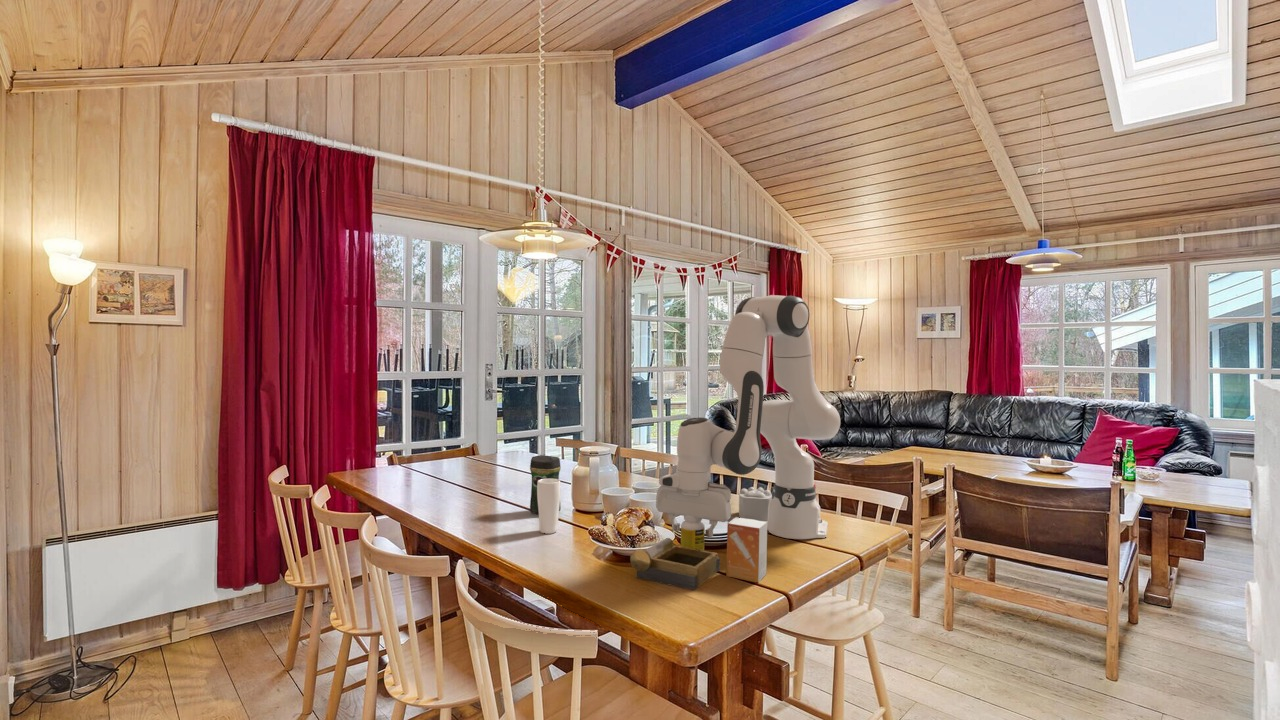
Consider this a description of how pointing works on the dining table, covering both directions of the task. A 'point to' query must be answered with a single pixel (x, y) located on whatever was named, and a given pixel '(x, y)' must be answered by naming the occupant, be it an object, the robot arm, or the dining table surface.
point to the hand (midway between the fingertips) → (692, 533)
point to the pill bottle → (692, 533)
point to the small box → (746, 549)
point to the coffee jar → (542, 475)
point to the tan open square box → (675, 564)
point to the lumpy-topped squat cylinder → (754, 503)
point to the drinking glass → (548, 504)
